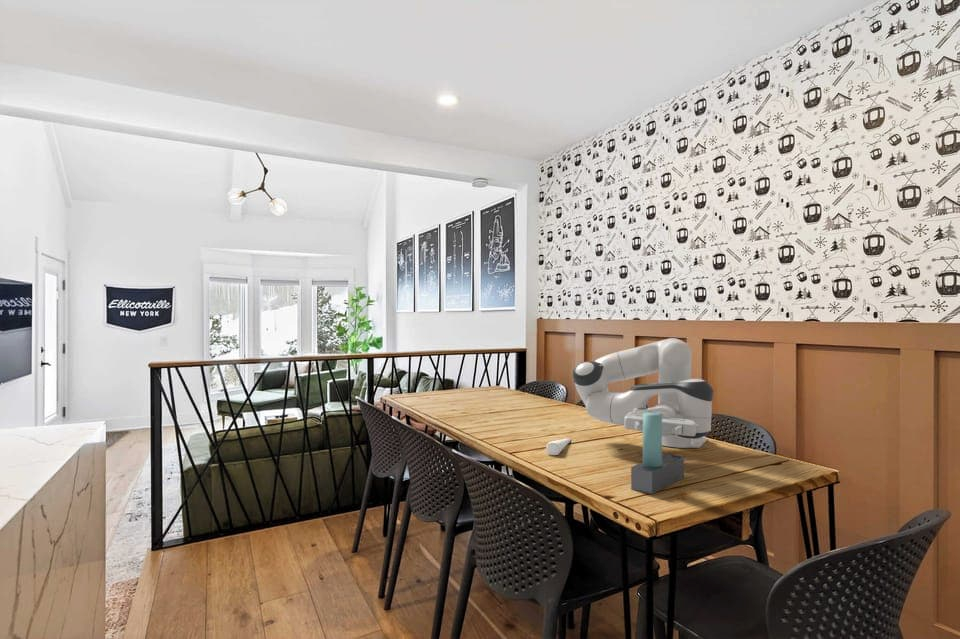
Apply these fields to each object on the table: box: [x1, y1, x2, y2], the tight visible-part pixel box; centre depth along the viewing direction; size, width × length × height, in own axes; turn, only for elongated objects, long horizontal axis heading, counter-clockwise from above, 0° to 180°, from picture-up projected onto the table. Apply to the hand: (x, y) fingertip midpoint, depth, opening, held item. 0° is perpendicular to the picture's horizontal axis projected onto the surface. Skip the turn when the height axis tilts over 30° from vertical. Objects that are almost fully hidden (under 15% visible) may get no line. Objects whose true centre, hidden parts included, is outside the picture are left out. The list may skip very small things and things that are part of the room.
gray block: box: [630, 452, 685, 495], centre depth 138 cm, size 20×6×6 cm, turn 134°
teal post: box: [642, 413, 663, 468], centre depth 135 cm, size 5×5×14 cm
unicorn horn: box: [546, 438, 571, 456], centre depth 177 cm, size 5×24×5 cm, turn 151°
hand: (656, 430), depth 140 cm, fingers open, 8 cm apart
